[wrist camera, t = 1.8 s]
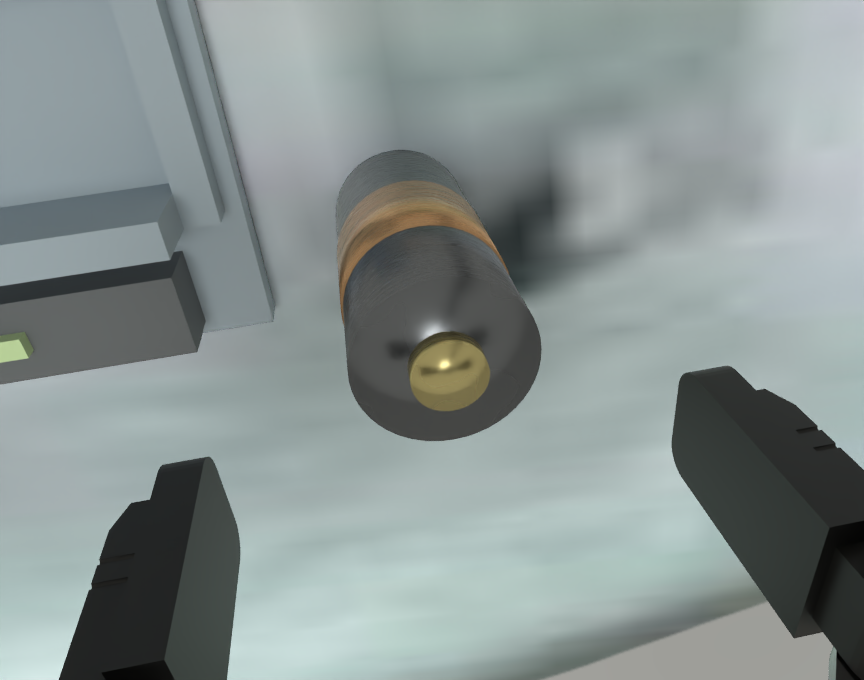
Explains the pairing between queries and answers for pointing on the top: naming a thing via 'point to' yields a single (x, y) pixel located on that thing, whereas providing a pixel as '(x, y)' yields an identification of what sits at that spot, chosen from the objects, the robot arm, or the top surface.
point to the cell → (427, 304)
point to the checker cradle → (116, 190)
